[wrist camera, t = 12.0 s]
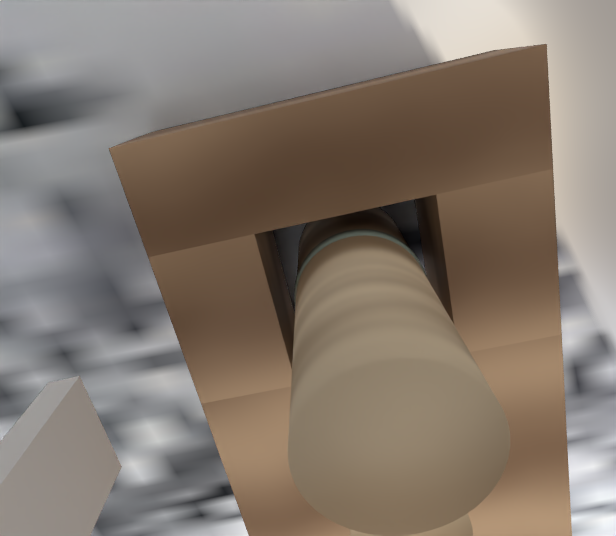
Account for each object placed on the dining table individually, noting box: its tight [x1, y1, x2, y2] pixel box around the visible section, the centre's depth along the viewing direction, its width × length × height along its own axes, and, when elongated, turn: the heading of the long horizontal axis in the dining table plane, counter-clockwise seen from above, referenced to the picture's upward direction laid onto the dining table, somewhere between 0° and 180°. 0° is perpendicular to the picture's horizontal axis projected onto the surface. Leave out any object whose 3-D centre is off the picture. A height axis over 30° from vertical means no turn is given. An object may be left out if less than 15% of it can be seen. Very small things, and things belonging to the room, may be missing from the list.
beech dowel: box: [288, 207, 510, 536], centre depth 14 cm, size 4×4×11 cm
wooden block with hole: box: [109, 44, 572, 536], centre depth 18 cm, size 18×12×6 cm, turn 13°
